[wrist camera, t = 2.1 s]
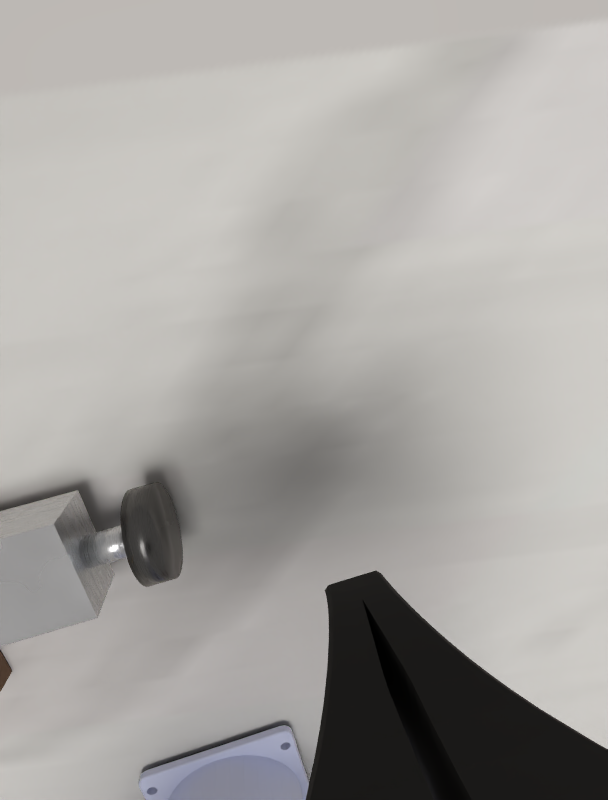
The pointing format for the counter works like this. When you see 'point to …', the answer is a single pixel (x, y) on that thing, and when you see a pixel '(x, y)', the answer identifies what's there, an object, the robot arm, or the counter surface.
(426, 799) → the robot arm
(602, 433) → the counter surface
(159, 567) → the door stop
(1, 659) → the housing
